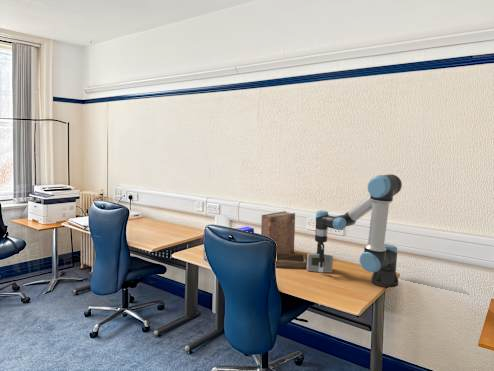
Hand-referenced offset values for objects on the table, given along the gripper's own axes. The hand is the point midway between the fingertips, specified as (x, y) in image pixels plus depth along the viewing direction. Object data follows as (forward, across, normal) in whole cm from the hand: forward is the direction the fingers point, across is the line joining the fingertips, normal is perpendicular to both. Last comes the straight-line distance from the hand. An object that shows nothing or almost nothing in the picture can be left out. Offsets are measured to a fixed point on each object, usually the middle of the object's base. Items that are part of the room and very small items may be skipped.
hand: (319, 268), depth 242 cm
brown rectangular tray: (+1, -12, -19) cm, 23 cm away
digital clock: (+2, 0, 0) cm, 2 cm away
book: (+2, -32, -26) cm, 41 cm away
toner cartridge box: (+2, -24, -61) cm, 66 cm away
